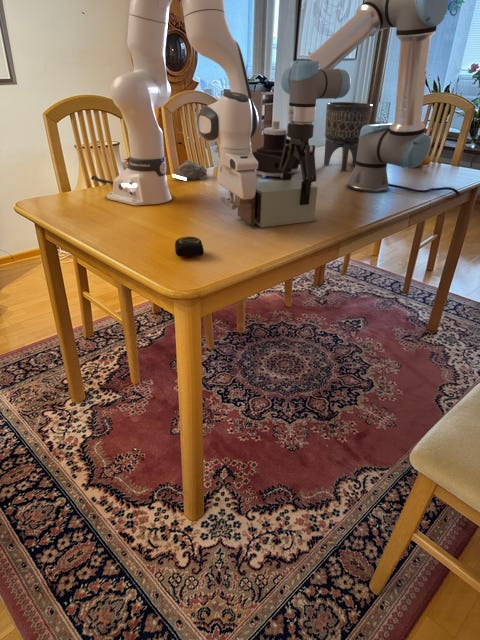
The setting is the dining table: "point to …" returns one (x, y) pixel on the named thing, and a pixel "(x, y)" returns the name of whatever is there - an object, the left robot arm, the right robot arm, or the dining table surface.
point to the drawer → (246, 208)
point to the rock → (191, 171)
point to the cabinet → (284, 203)
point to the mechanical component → (272, 152)
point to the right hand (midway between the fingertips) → (294, 199)
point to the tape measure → (189, 247)
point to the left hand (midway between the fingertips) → (234, 206)
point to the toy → (425, 162)
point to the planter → (345, 128)
